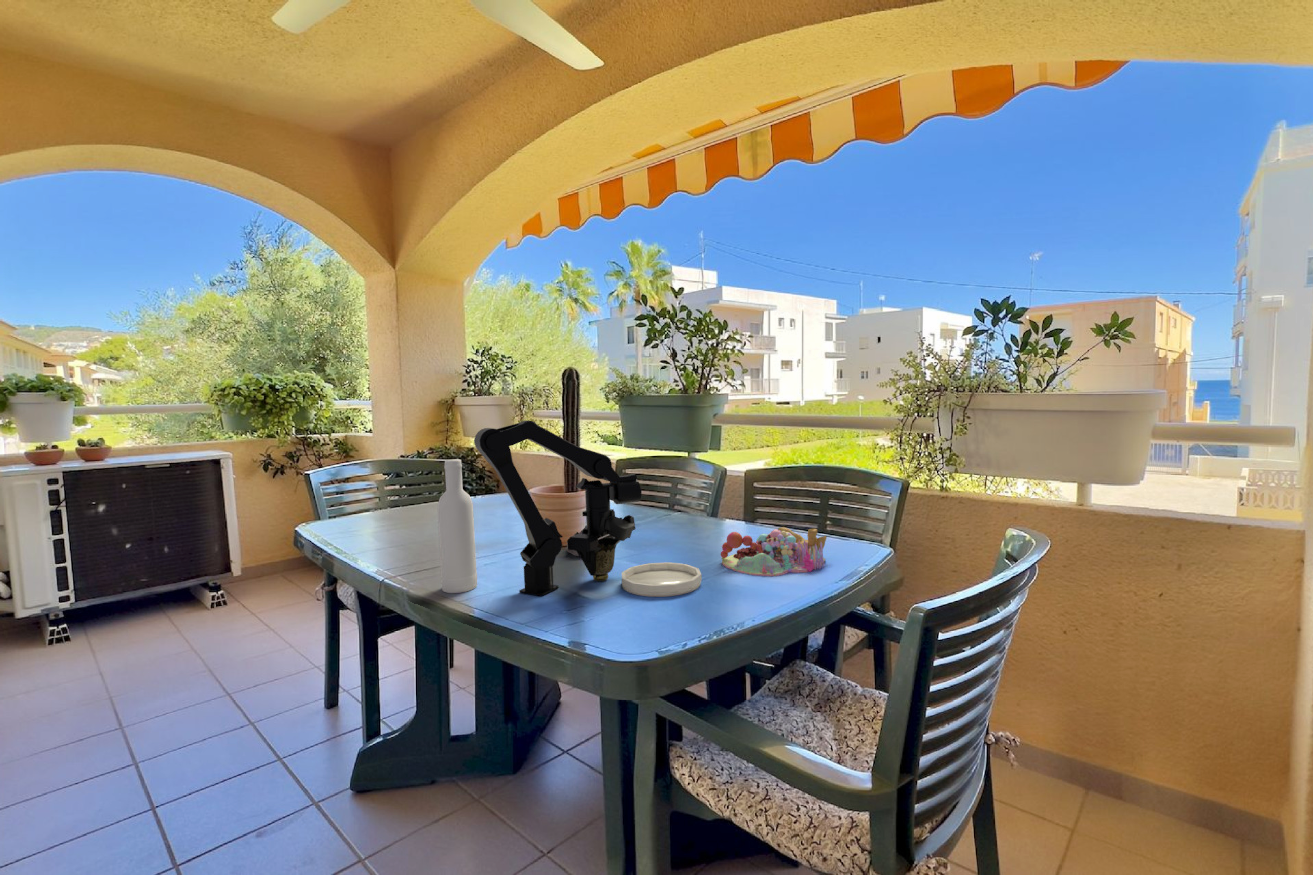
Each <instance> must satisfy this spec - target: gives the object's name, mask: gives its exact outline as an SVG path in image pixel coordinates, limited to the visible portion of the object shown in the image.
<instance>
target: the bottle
mask: <svg viewBox="0 0 1313 875" xmlns="http://www.w3.org/2000/svg"><path fill="white" fill-rule="evenodd" d="M443 468H444V475H445V491H444V493H443V494H442V495H440V497H439V500H438V503H437V507H436V508H437V524H438V536H439V537H438V540H439V541H438V542H439V558H440V581H441V582H440V584H441V589H442V592H445V593H448V594H458V593H459V594H460V593H465V592H469V591H473V590H474V589H475V588H477V586H478V572H477V556H476V539H475V538H476V537H475V520H474V503H473V500H472V498H471V496H470V494H469V493H468V492H466V491H465V490H464V489H463V469H462V468H463V463H462V460H461V459H459V458H458V459H453V458H452V459H445V461H444V466H443Z"/></svg>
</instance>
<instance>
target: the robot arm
mask: <svg viewBox="0 0 1313 875" xmlns="http://www.w3.org/2000/svg"><path fill="white" fill-rule="evenodd" d="M526 440H528V441H530V442H533V443H534V444H535V445H538V446H540V447H541V448H544V449H545V450H547V451H549V452H552V453H553V454H555V455H557V456H559V457H562V458H563V459H564V460H567V461H569V463H570V464H572V465H573V466H574V467H575V468H576V469H577V470H579V471H580V472H582V474H584V475H585V476H587V477H589V478H590V477H591V478H594V480H588V479H587V478H584V477H583V478H582V477H581V478H582V479H581V480H580V482H578V483H577V484H576V485H575V487H576V488H577V489H579V490H583V491H585V492H584V496H585V510H583V511H582V517H585V518H586V520H585V522H586V525H587V528H585V527H584V528H585V529H584V528H583V529H582V530H583V533H585V534H577V535H575V534H574V535H572V536H570V537H569V538H568V539H567V540H566V550H567V549H569V550H574V551H577V553H578V554H579V556H578V557H580V559H581V561H582V562H583V564H584V566H585V568H586V570H587V572H588V574H589V576H591V577H593V576H594V575H595V572H596V555H597V553H598V552H599V550H600V549H601V547H597V546H598V542H599V544H600V545H602V544H603V545H604V547H608V545H609V544H611V546H612V545H613V544H614V546H615V549H616V547H617V545H618V544H619V543H620V542H623V541H624V542H625V540H627V539H631V537H632V532H633V531H635V530H636V526H635V525H636V523H635V517H634V516H633V515H631V514H628V515H625V516H624V517H617V516H616V512H615V510H614V509H612V508H611V501H613V503H614V504H616V505H621V504H630V503H638V502H640V501H641V499H642V494H643V493H642V488H641V485H640V482H639V480H638V475H637V474H634V473H631V474H630V473H629V474H626V475H619V474H618V473H617V471H616V470H615V469H614V468H613V467H612V466H613V465H612V460H611V458H610V457H609V456H608V455H606V454H603V453H600V452H598V451H597V452H596V451H593V450H590V449H586V448H583V447H581V446H577V445H576V444H574V443H572V442H570V441H569V440H566V439H564V438H563V437H561V436H559V435H557V434H555V433H553V432H552V431H550V430H548V429H546V428H544V427H542V426H540V425H539V424H537V423H536V422H535V421H532V420H526V419H525V420H521V421H520V422H517V423H513V424H511V425H506V426H503V427H499V428H492V427H485V428H482V429H480V430H479V431H477V433H476V434H475V436H474V439H473V442H474V443H473V444H474V446H475V447H474V448H476V450H477V451H478V452H479V453H480V455H481V456H482V457H483V458H484V459H485V460H486V462H488V464H489V465H490V466H491V467H492V468H493V469H494V470H495V472H496V474H497V476H498V478H499V479H500V481H501V483H502V486H503V487H504V489H505V491H506V492H507V494H508V496H509V499H511V502H512V503H513V505H514V507H515V509H516V511H517V513H518V514H519V516H520V518H521V520H522V522H523V523H524V528H525V535H526V537H527V540H528V543H527V544H526V546H525V547H524V548H523V549H522V550H521V551H520V554H519V555H520V557H521V559H522V561H523V562H525V564H524V565H523V579H524V587H523V588H521V589H519V591H518V592H519V593H520V594H526V595H533V596H541V597H542V596H544V595H547V594H548V593H551V592H552V591H554V590H558V589H559V585H557V584H554V574H553V573H554V570H553V567H554V565H555V561H556V558H557V557H558V555H559V554H560V552H561V550H562V547H563V542H562V539H561V538H563V535H562V534H560V532H559V531H558V528H557V524H556V522H555V521H554V520H552V519H550V518H548V517H545V518H543V516H542V515H541V513H540V511H539V509H538V507H537V505H536V504H535V501H534V499H533V498H532V496H531V494H530V492H529V490H528V488H527V487H526V485H525V483H524V481H523V479H522V478H521V476H520V474H519V472H518V470H517V468H516V466H515V464H514V461H513V456H512V455H513V454H512V450H511V447H510V446H513V445H517V444H519V443H522V442H523V441H526ZM601 480H603V481H607V482H604V483H603V482H602V481H601ZM586 534H588V535H586ZM596 536H597V537H596Z"/></svg>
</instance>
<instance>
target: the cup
mask: <svg viewBox="0 0 1313 875" xmlns="http://www.w3.org/2000/svg"><path fill="white" fill-rule="evenodd" d="M597 547H601V549H600V550H599V552H598V553H597V555H596V572H595V575H594V576H592V579H593V581H596V582H605V581H607V580H608V579H609V573H611V571H612V570H613V567H614V564H615V556H616V555H615V554H616V548H615V546H614V544H613V545H612V546H611V544H609V545H608V547H604V545H603V544H602V545H600V544H599V543H598V546H597Z"/></svg>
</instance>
